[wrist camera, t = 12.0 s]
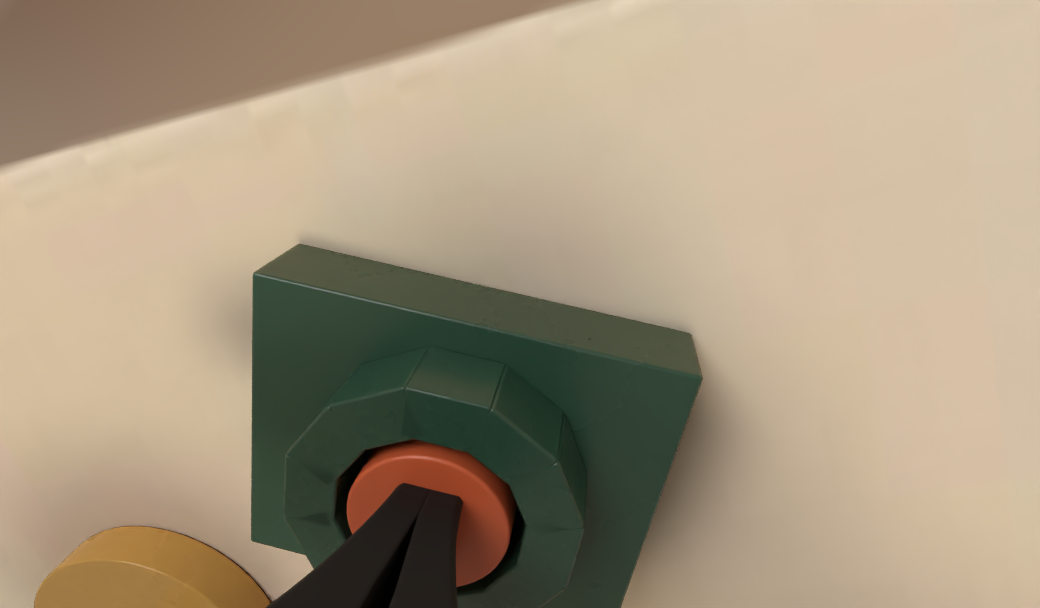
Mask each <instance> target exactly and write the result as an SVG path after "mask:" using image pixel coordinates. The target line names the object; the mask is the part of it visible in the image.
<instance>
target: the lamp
mask: <svg viewBox="0 0 1040 608" xmlns="http://www.w3.org/2000/svg"><path fill="white" fill-rule="evenodd" d="M269 604H271V603H270V601H269V599H268V598H267V597H266V595H265V594H264V592H263V591H262V590H261V588H260V587H259V586H258V585H257V584H256V583H255V581H254V580H253V579H252V578H251V577H250V576H249V575H248V574H247V573H246V572H244V571H243V570H242V569H241V568H240V567H239V566H238V565H236V564H235V563H234V562H232V561H231V560H230V559H228V558H227V557H226V556H224V555H222V554H221V553H219V552H218V551H216V550H215V549H213V548H211V547H209V546H207V545H205V544H203V543H201V542H199V541H197V540H194V539H192V538H190V537H187V536H185V535H182V534H178V533H175V532H172V531H168V530H163V529H159V528H153V527H143V526H125V527H118V528H112V529H109V530H106V531H102V532H100V533H98V534H96V535H94V536H92V537H90V538H89V539H87V540H86V541H85V542H83V543H82V544H81V545H80V546H79V547H78V548H77V549H76V550H75V551H73V552H72V553H71V554H70V555H69V556H68V557H67V558H66V559H65V560H64V561H63V562H62V563H61V564H60V565H59V566H58V567H57V568H55V569H54V570H53V571H52V572H51V573H50V574H49V575H48V576H47V577H46V579H45V580H44V581H43V582H42V584H41V586H40V587H39V589H38V591H37V594H36V598H35V601H34V608H265V607H267V606H268V605H269Z"/></svg>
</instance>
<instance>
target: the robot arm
mask: <svg viewBox="0 0 1040 608" xmlns="http://www.w3.org/2000/svg"><path fill="white" fill-rule="evenodd" d="M462 506H463V501H462V500H461V498H460V497H459V496H456V495H452V494H448V493H444V492H440V491H436V490H432V489H428V488H424V487H420V486H416V485H412V484H408V483H402V484H400V485H398V486H397V487H396V488H395V490H394V491H393V492H392V493H391V494H390V496H389V497H388V498H387V499H386V500H385V501H384V502H383V504H382V505H381V506H380V507H379V508H378V509H377V510H376V511H375V512H374V513H373V514H372V515H371V516H370V517H369V519H368V520H367V521H366V522H365V523H364V524H363V525H362V526H361V527H360V528H359V529H358V530H357V531H356V532H354V533H353V534H352V535H351V536H350V537H349V538H348V539H347V540H346V541H345V542H344V543H343V544H342V545H341V546H340V547H339V548H338V549H337V550H336V551H335V552H333V553H332V554H331V555H330V556H329V557H328V558H327V559H325V560H324V561H323V562H322V563H321V564H320V565H318V566H317V567H316V568H315V569H314V570H313V571H311V572H310V573H309V574H308V575H307V576H306V577H304V578H303V579H302V580H301V581H299V582H298V583H297V584H296V585H294V586H293V587H292V588H291V589H289V590H288V591H287V592H285V593H284V594H283V595H282V596H280V597H279V598H278V599H276V600H275V601H273V602H272V603H271V604H269V605H268V606H267V607H265V608H458V603H457V588H456V540H457V532H458V527H459V522H460V516H461V511H462Z"/></svg>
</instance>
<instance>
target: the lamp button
mask: <svg viewBox="0 0 1040 608" xmlns="http://www.w3.org/2000/svg"><path fill="white" fill-rule="evenodd" d="M402 483H408V484H412V485H416V486H420V487H424V488H428V489H432V490H436V491H440V492H444V493H448V494H452V495H456V496H459V497H460V498H461V500H462V501H463V506H462V511H461V516H460V522H459V527H458V532H457V540H456V587H458V586H463V585H467V584H470V583H473V582H475V581H477V580H479V579H481V578H483V577H485V576H486V575H488V574H489V573H490V572H491V571H492V570H494V569H495V568H496V567H497V566H498V564H499V563H500V562H501V560H502V559H503V557H504V555H505V554H506V552H507V549H508V546H509V542H510V537H511V532H512V527H513V523H514V518H515V513H516V508H517V503H516V500H515V498H514V496H513V493H512V491H511V489H510V486H509V485H508V484H507V483H505V482H504V481H503V480H502V479H500V478H499V477H498V476H497V475H495V474H494V473H493V472H491V471H490V470H489V469H488V468H486V467H485V466H484V465H483V464H481V463H480V462H479V461H478V460H476V459H475V458H474V457H472V456H471V455H470V454H469V453H467V452H463V451H459V450H455V449H451V448H447V447H442V446H438V445H434V444H430V443H426V442H422V441H418V440H414V439H413V440H408V441H404V442H399V443H395V444H390V445H386V446H381V447H377V448H374V449H373V451H372V452H371V454H370V456H369V457H368V459H367V461H366V462H365V464H364V466H363V468H362V469H361V471H360V473H359V474H358V476H357V478H356V479H355V481H354V483H353V485H352V486H351V489H350V491H349V494H348V499H347V519H348V524H349V527H350V530H351V532H352V534H353V533H354V532H356V531H357V530H358V529H359V528H360V527H361V526H362V525H363V524H364V523H365V522H366V521H367V520H368V519H369V517H370V516H371V515H372V514H373V513H374V512H375V511H376V510H377V509H378V508H379V507H380V506H381V505H382V504H383V502H384V501H385V500H386V499H387V498H388V497H389V496H390V494H391V493H392V492H393V491H394V490H395V488H396V487H397V486H398V485H400V484H402Z"/></svg>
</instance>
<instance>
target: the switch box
mask: <svg viewBox="0 0 1040 608" xmlns="http://www.w3.org/2000/svg"><path fill="white" fill-rule="evenodd" d="M702 380H703V377H702V373H701V369H700V365H699V362H698V358H697V354H696V350H695V346H694V342H693V339H692V335H691V334H690V333H686V332H682V331H678V330H673V329H669V328H664V327H660V326H656V325H651V324H647V323H643V322H638V321H634V320H630V319H625V318H621V317H616V316H612V315H608V314H603V313H599V312H595V311H590V310H586V309H582V308H577V307H573V306H568V305H564V304H560V303H555V302H551V301H547V300H542V299H538V298H534V297H529V296H525V295H520V294H516V293H512V292H507V291H503V290H499V289H494V288H490V287H486V286H481V285H477V284H472V283H468V282H464V281H459V280H455V279H451V278H446V277H442V276H438V275H433V274H429V273H424V272H420V271H416V270H411V269H407V268H403V267H398V266H394V265H390V264H385V263H381V262H377V261H372V260H368V259H363V258H359V257H355V256H350V255H346V254H342V253H337V252H333V251H329V250H324V249H320V248H315V247H311V246H307V245H302V244H298V245H296V246H294V247H293V248H291V249H290V250H288V251H287V252H285V253H284V254H282V255H280V256H279V257H277V258H276V259H274V260H273V261H271V262H269V263H268V264H266V265H265V266H263V267H262V268H260V269H259V270H257V271H255V272H254V274H253V330H252V490H251V540H252V541H253V542H257V543H261V544H265V545H269V546H273V547H276V548H280V549H284V550H288V551H292V552H296V553H300V554H304V555H306V556H307V558H308V560H309V561H310V563H311V565H312V567H313V568H314V569H315V568H316V567H317V566H318V565H320V564H321V563H322V562H323V561H324V560H325V559H327V558H328V557H329V556H330V555H331V554H332V553H333V552H335V551H336V550H337V549H338V548H339V547H340V546H341V545H342V544H343V543H344V542H345V541H346V540H347V539H348V538H349V537H350V536H351V535H352V532H351V530H350V527H349V524H348V519H347V499H348V494H349V491H350V489H351V486H352V485H353V483H354V481H355V479H356V478H357V476H358V474H359V473H360V471H361V469H362V468H363V466H364V464H365V462H366V461H367V459H368V457H369V456H370V454H371V452H372V451H373V449H374V448H377V447H381V446H386V445H390V444H395V443H399V442H404V441H408V440H413V439H414V440H418V441H422V442H426V443H430V444H434V445H438V446H442V447H447V448H451V449H455V450H459V451H463V452H467V453H469V454H470V455H471V456H472V457H474V458H475V459H476V460H478V461H479V462H480V463H481V464H483V465H484V466H485V467H486V468H488V469H489V470H490V471H491V472H493V473H494V474H495V475H497V476H498V477H499V478H500V479H502V480H503V481H504V482H505V483H507V484H508V485H509V486H510V489H511V491H512V493H513V496H514V498H515V500H516V503H517V508H516V513H515V518H514V523H513V527H512V532H511V537H510V542H509V546H508V549H507V552H506V554H505V555H504V557H503V559H502V560H501V562H500V563H499V564H498V566H497V567H496V568H495V569H494V570H492V571H491V572H490V573H489V574H488V575H486V576H485V577H483V578H481V579H479V580H477V581H475V582H473V583H470V584H467V585H463V586H458V587H456V588H457V603H458V608H620V607H621V605H622V602H623V599H624V596H625V594H626V591H627V588H628V585H629V582H630V580H631V577H632V574H633V571H634V569H635V566H636V563H637V560H638V557H639V555H640V552H641V549H642V546H643V543H644V541H645V538H646V535H647V532H648V530H649V527H650V524H651V521H652V518H653V516H654V513H655V510H656V507H657V505H658V502H659V499H660V496H661V493H662V491H663V488H664V485H665V482H666V480H667V477H668V474H669V471H670V468H671V466H672V463H673V460H674V457H675V455H676V452H677V449H678V446H679V443H680V441H681V438H682V435H683V432H684V430H685V427H686V424H687V421H688V418H689V416H690V413H691V410H692V407H693V405H694V402H695V399H696V396H697V393H698V391H699V388H700V385H701V382H702Z"/></svg>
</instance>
